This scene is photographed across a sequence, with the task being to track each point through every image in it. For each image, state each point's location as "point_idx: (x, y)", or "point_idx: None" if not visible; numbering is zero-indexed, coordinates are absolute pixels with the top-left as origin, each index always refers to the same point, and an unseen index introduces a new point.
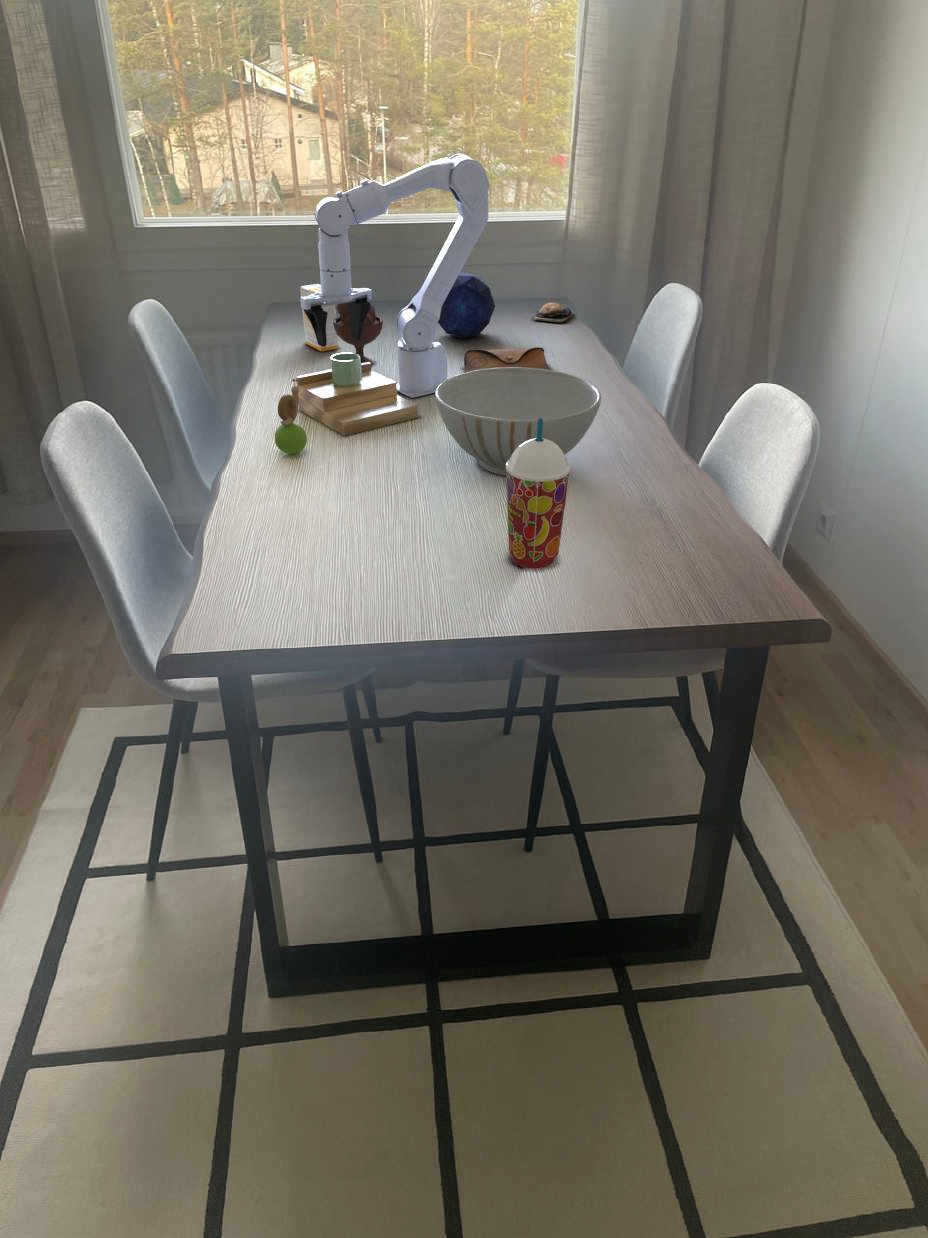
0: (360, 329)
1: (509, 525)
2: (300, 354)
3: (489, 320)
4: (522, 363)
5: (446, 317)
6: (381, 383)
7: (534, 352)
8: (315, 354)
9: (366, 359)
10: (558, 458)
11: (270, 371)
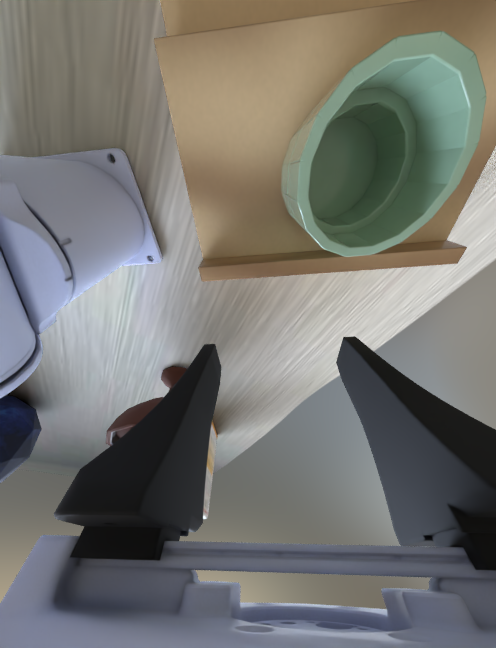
0: (194, 369)
1: None
2: (236, 420)
3: None
4: None
5: (5, 428)
6: (224, 71)
7: None
8: (221, 415)
9: (169, 378)
10: None
11: (296, 397)
